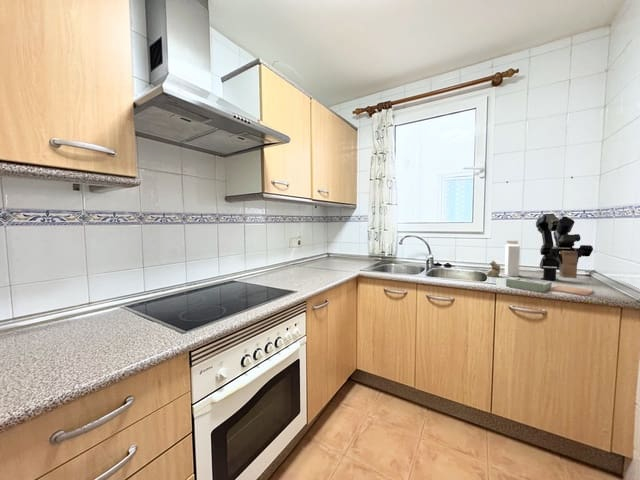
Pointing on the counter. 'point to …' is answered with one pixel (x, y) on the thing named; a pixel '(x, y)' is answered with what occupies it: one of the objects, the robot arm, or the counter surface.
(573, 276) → the brown rectangular block
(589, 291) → the tile
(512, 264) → the milk
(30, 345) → the counter surface
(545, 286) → the bay
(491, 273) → the chocolate bunny
